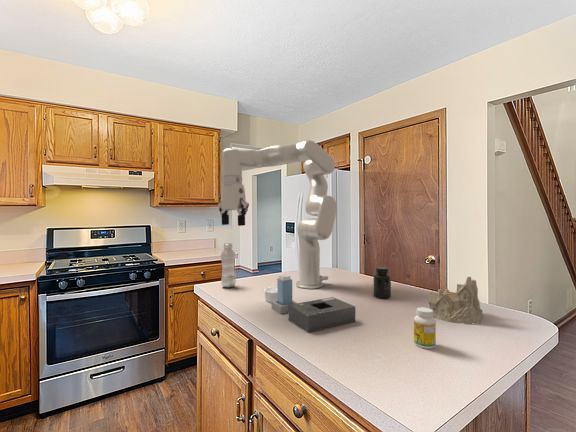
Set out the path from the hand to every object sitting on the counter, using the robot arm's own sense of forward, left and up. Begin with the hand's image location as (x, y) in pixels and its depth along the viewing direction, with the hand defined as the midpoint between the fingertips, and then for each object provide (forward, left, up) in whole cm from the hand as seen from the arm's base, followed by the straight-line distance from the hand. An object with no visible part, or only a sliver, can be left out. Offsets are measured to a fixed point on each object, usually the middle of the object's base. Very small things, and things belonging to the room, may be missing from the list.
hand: (233, 225), depth 124 cm
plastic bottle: (-5, -21, -30) cm, 37 cm away
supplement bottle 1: (-55, +25, -30) cm, 67 cm away
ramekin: (-15, +7, -30) cm, 34 cm away
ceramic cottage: (-61, +53, -30) cm, 86 cm away
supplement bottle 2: (-32, +63, -30) cm, 77 cm away
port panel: (-18, +35, -30) cm, 49 cm away
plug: (-13, +19, -30) cm, 38 cm away
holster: (-13, +19, -30) cm, 38 cm away
